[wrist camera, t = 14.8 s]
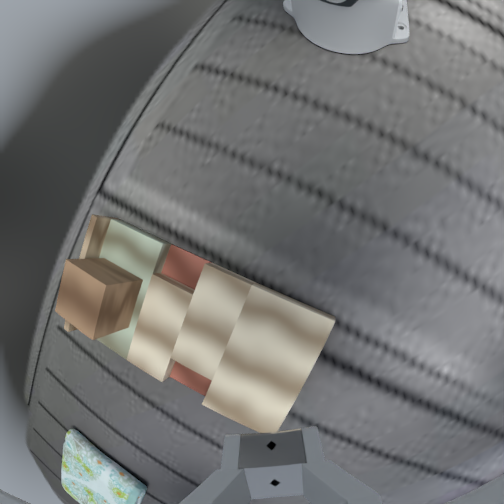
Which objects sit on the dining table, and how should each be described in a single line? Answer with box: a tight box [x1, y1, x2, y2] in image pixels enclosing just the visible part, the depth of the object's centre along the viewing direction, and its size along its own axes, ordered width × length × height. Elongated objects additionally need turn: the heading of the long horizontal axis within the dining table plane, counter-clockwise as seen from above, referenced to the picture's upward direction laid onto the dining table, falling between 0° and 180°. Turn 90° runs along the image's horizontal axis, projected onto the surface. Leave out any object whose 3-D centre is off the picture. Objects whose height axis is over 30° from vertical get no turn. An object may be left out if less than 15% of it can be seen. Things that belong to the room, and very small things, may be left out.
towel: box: [61, 429, 147, 504], centre depth 43 cm, size 18×21×5 cm
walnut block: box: [55, 258, 143, 340], centre depth 36 cm, size 7×7×8 cm
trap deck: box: [64, 215, 335, 433], centre depth 37 cm, size 17×32×6 cm, turn 68°
